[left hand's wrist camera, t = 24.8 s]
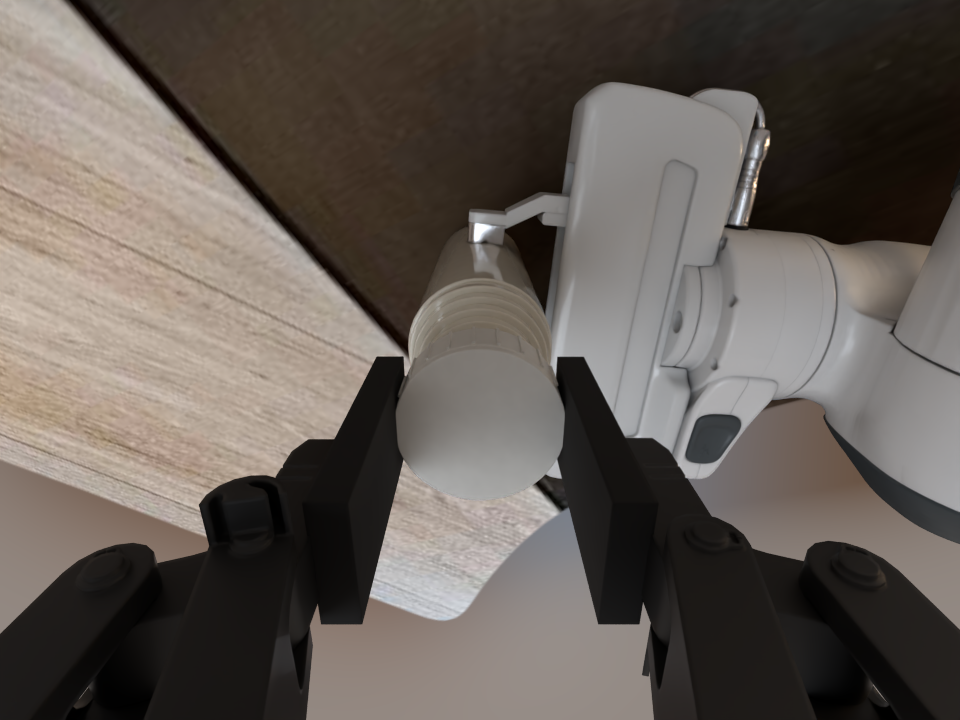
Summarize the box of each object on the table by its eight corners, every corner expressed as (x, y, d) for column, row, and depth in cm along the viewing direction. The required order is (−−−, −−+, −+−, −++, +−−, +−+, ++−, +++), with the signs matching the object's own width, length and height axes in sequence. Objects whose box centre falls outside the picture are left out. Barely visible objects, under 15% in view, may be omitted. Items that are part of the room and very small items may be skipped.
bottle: (445, 216, 31) (395, 306, 13) (529, 232, 32) (599, 341, 13) (433, 299, 33) (373, 479, 15) (512, 313, 34) (551, 506, 15)
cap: (429, 302, 14) (422, 321, 12) (585, 357, 14) (598, 382, 13) (382, 440, 15) (371, 473, 14) (524, 484, 16) (529, 521, 14)
